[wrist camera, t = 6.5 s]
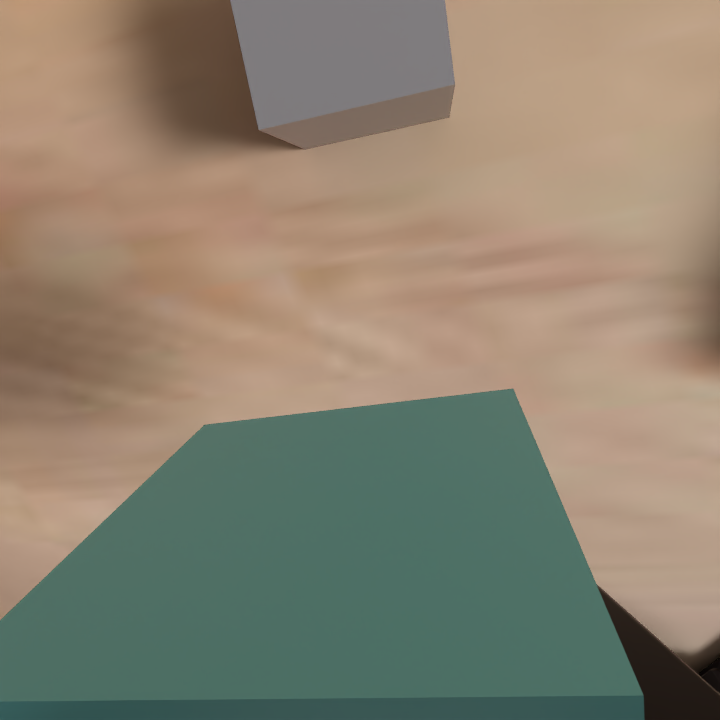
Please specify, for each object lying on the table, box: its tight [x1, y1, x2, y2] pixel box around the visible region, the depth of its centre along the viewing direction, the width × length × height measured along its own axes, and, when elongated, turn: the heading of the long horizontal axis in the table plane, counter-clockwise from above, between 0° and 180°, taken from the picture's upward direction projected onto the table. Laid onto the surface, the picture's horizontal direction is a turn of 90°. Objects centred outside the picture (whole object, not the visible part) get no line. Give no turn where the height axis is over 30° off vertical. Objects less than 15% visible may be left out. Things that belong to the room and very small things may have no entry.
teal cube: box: [0, 389, 645, 720], centre depth 6 cm, size 5×5×5 cm
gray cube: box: [230, 0, 455, 149], centre depth 14 cm, size 5×5×5 cm
